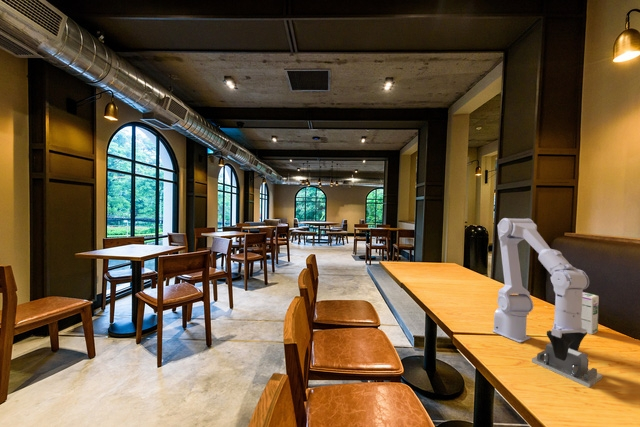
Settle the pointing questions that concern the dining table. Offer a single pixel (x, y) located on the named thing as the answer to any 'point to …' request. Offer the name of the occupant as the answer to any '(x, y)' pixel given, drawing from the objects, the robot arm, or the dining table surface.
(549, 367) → the pin tray
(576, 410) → the dining table surface
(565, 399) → the dining table surface
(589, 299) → the syrup box
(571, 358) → the block
